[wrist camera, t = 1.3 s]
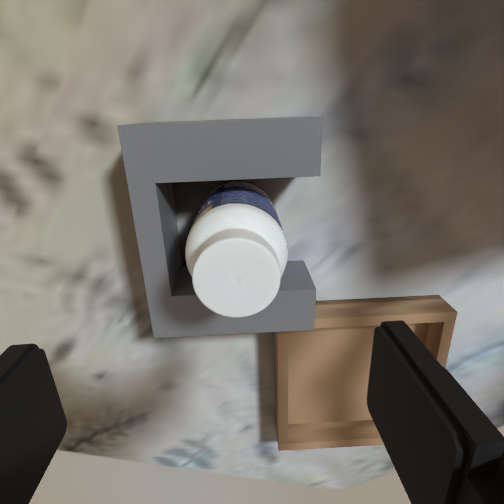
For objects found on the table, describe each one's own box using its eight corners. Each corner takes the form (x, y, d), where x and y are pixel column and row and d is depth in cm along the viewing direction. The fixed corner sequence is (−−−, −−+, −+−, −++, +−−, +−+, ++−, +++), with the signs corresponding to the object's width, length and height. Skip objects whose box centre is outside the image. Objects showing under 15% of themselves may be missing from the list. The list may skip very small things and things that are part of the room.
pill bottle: (204, 173, 23) (181, 212, 14) (282, 186, 24) (308, 232, 15) (194, 247, 25) (169, 323, 16) (267, 258, 26) (282, 338, 17)
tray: (438, 295, 27) (457, 311, 25) (415, 418, 32) (429, 442, 30) (274, 303, 27) (277, 321, 25) (275, 426, 32) (278, 450, 30)
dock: (306, 116, 22) (322, 117, 18) (302, 296, 27) (314, 329, 23) (140, 123, 22) (117, 125, 18) (167, 302, 27) (153, 338, 22)
